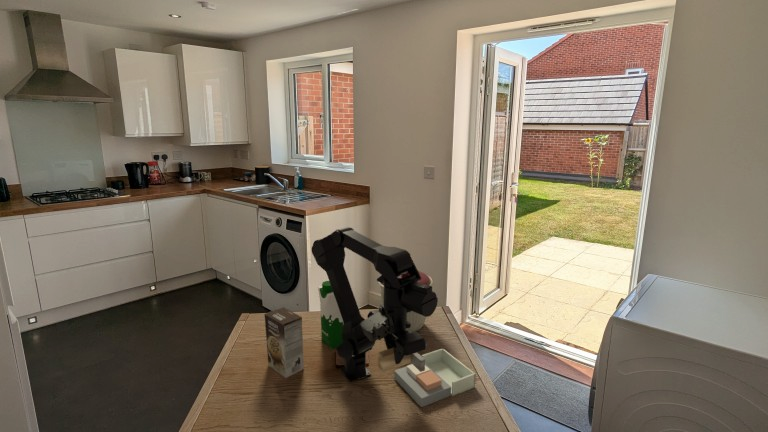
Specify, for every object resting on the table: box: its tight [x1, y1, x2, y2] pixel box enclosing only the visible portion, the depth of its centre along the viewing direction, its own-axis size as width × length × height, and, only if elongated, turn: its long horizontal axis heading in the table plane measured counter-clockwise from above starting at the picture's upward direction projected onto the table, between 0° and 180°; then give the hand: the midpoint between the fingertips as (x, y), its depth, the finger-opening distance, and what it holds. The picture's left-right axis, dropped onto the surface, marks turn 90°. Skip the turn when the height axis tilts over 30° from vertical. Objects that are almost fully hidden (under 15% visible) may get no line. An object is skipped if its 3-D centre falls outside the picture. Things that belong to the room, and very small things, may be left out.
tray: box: [421, 348, 476, 397], centre depth 112 cm, size 14×7×4 cm, turn 29°
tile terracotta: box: [417, 371, 442, 391], centre depth 106 cm, size 4×4×2 cm
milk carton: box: [317, 280, 343, 350], centre depth 128 cm, size 9×9×20 cm
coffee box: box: [263, 306, 305, 379], centre depth 115 cm, size 9×6×16 cm
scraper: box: [377, 348, 425, 373], centre depth 102 cm, size 11×9×4 cm
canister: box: [377, 270, 434, 332], centre depth 138 cm, size 18×18×21 cm
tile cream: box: [405, 363, 430, 380], centre depth 110 cm, size 4×4×2 cm
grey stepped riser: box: [393, 364, 452, 408], centre depth 108 cm, size 13×9×2 cm
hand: (394, 360), depth 102 cm, fingers closed on scraper, 2 cm apart
